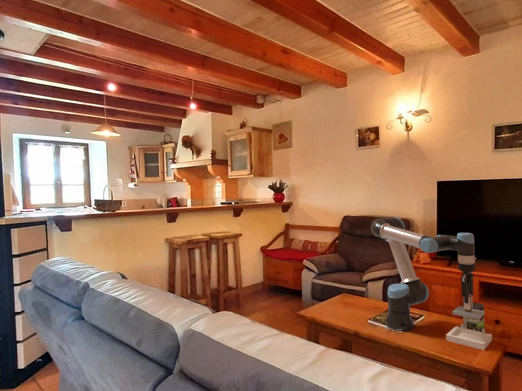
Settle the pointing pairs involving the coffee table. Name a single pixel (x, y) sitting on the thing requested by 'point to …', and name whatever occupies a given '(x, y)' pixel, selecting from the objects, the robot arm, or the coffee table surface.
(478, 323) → the coffee can
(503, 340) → the coffee table surface
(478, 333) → the frame
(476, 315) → the grey panel with handle
